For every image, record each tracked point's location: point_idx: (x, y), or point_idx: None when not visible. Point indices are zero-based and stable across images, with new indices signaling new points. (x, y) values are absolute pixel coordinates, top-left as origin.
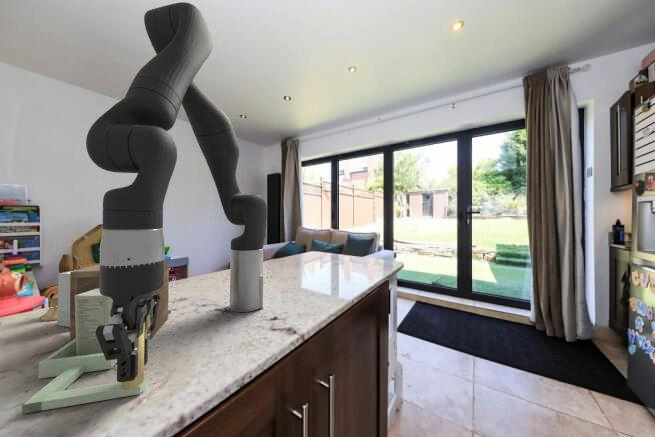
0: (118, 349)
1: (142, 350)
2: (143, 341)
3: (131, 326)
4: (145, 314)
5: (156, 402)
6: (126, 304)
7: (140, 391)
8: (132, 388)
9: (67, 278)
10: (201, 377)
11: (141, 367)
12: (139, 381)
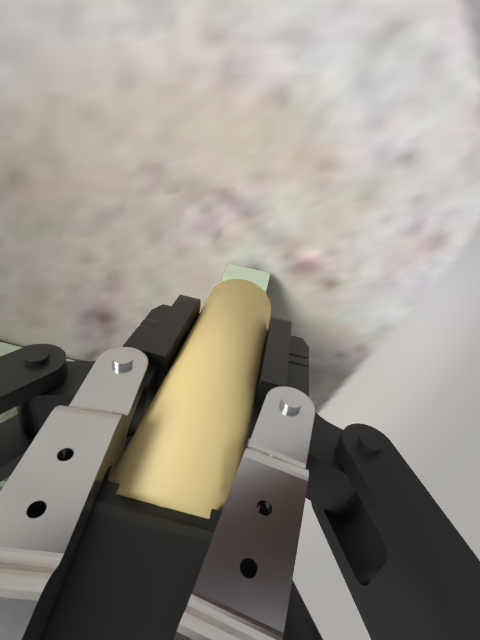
0: (349, 503)
1: (225, 357)
2: (206, 386)
3: (300, 599)
4: (199, 628)
5: (343, 215)
6: None
7: (268, 275)
8: (270, 305)
9: None
10: (264, 23)
11: (243, 314)
12: (258, 294)
